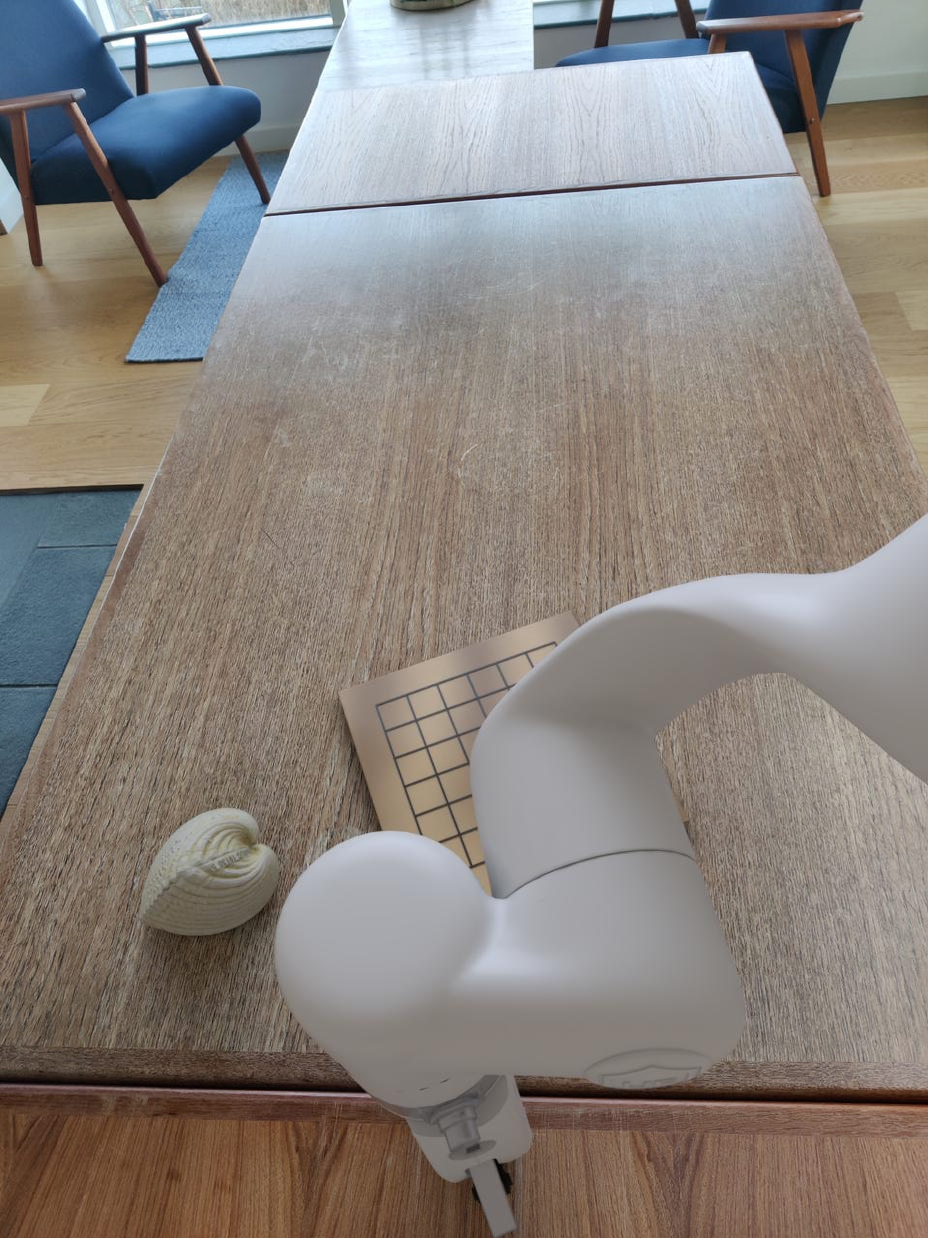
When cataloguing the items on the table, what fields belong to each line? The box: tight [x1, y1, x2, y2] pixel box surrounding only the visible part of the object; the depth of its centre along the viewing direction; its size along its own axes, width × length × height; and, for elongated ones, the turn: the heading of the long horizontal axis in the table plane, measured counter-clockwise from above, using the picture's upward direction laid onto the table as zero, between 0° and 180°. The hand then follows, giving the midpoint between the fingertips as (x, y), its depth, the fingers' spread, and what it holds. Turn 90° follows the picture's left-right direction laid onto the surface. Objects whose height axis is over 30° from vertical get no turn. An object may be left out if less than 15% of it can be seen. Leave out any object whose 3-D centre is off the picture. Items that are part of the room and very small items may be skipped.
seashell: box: [138, 807, 280, 937], centre depth 60 cm, size 8×8×8 cm
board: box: [337, 609, 690, 896], centre depth 66 cm, size 20×20×2 cm
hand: (466, 1093), depth 52 cm, fingers open, 5 cm apart
